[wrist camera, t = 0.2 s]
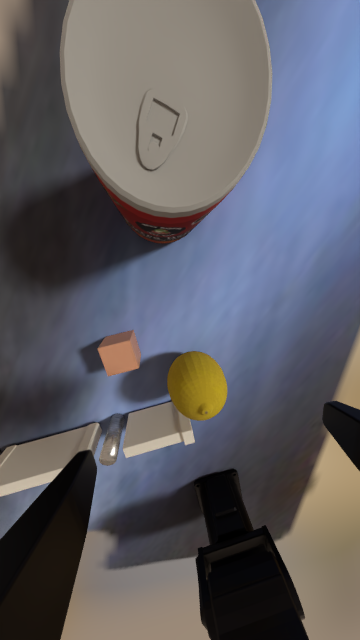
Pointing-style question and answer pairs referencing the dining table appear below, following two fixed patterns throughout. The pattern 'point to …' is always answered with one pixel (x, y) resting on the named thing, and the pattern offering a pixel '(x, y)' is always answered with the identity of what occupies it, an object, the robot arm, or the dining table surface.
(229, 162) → the canned food
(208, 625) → the robot arm
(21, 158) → the dining table surface
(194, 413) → the lemon
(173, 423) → the fence panel
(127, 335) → the block
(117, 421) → the hinge post
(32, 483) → the gate
